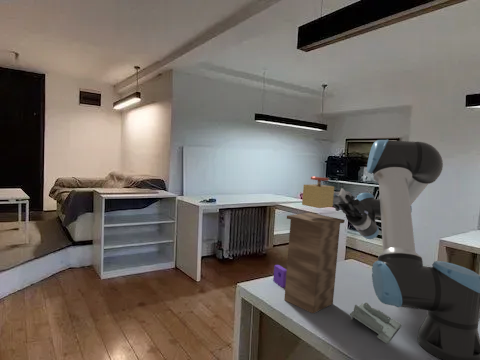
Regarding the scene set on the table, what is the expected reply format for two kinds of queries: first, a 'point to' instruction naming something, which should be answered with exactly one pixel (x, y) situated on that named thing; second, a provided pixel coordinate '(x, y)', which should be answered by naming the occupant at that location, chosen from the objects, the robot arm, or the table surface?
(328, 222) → the stand
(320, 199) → the valve pipe
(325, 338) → the table surface
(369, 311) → the metal bracket
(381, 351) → the table surface
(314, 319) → the table surface
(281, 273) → the bracket
